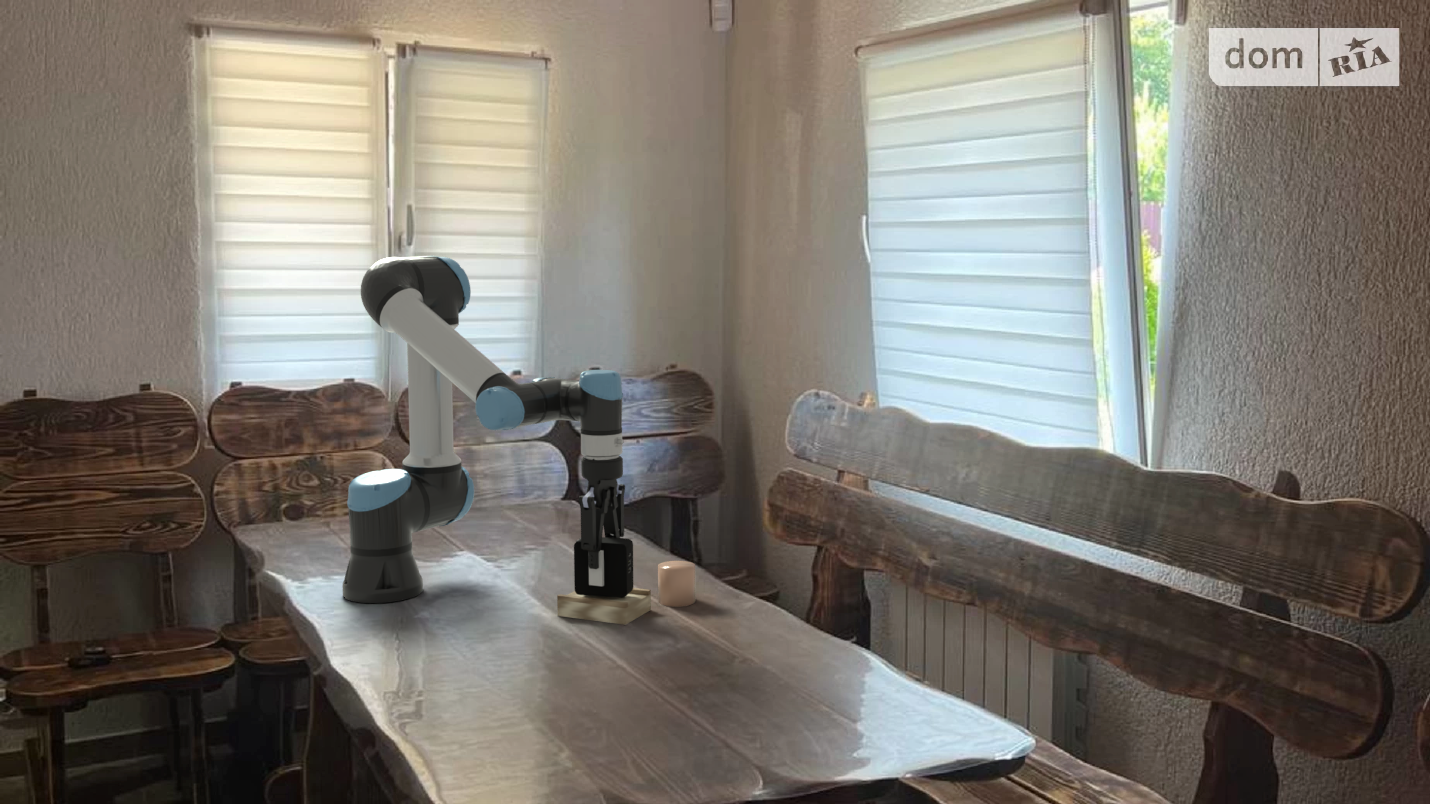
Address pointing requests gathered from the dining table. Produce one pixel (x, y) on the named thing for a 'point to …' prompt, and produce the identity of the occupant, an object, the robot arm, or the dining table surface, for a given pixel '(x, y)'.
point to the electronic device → (606, 569)
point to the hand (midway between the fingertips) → (603, 581)
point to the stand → (605, 606)
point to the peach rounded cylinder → (676, 583)
